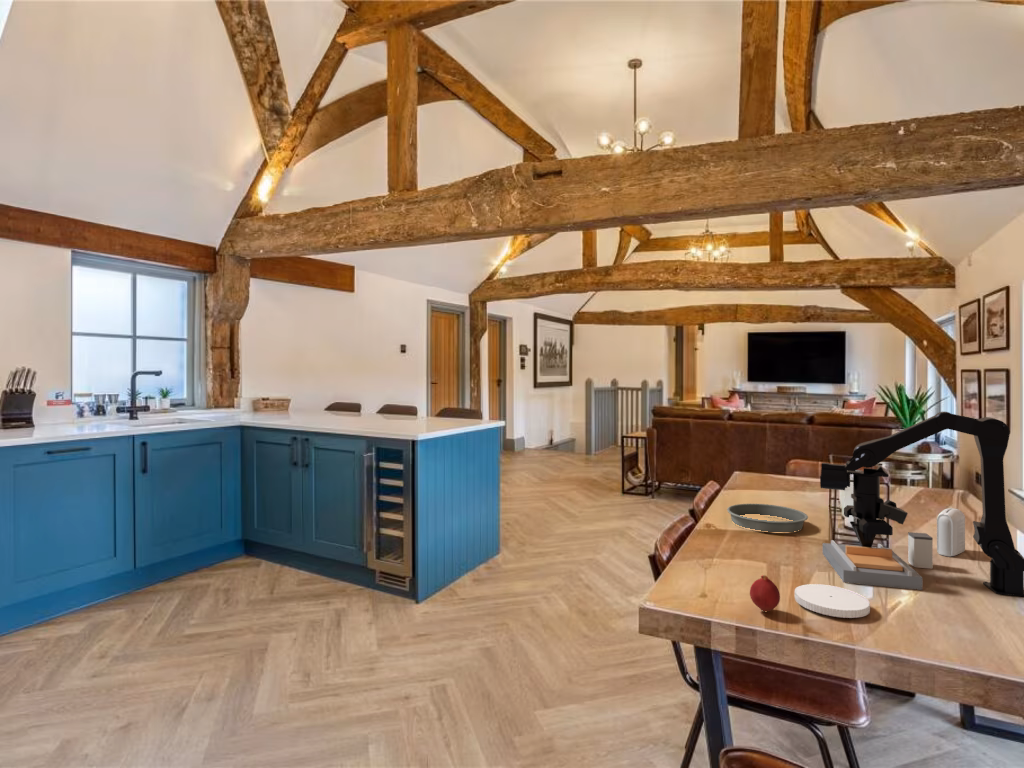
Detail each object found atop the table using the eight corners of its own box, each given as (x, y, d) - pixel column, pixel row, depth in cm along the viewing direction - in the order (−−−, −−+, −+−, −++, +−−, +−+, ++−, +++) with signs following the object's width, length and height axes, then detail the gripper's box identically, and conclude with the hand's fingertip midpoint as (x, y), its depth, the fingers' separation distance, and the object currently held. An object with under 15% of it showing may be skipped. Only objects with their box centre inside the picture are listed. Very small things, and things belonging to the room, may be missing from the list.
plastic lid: (781, 596, 123) (781, 585, 123) (840, 593, 124) (839, 582, 124) (821, 624, 109) (821, 611, 109) (886, 621, 110) (886, 608, 110)
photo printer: (948, 547, 155) (948, 504, 154) (967, 551, 151) (967, 507, 151) (934, 554, 149) (934, 509, 149) (953, 558, 145) (953, 513, 145)
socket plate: (922, 590, 124) (922, 572, 124) (843, 582, 129) (843, 566, 129) (889, 559, 145) (889, 544, 145) (822, 553, 150) (822, 539, 150)
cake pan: (815, 538, 165) (815, 524, 165) (729, 532, 173) (729, 518, 173) (800, 518, 188) (800, 505, 188) (725, 513, 196) (725, 501, 196)
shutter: (902, 571, 128) (902, 559, 128) (854, 567, 131) (854, 555, 131) (890, 560, 136) (890, 548, 136) (845, 556, 139) (845, 545, 139)
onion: (754, 603, 118) (754, 567, 118) (783, 610, 115) (782, 573, 114) (746, 612, 114) (746, 575, 114) (776, 620, 110) (775, 581, 110)
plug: (932, 568, 138) (932, 537, 138) (914, 567, 139) (914, 536, 139) (926, 563, 142) (926, 533, 142) (908, 562, 143) (908, 532, 143)
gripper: (918, 502, 127) (918, 568, 127) (890, 486, 144) (890, 544, 145) (863, 499, 130) (863, 563, 130) (843, 484, 148) (843, 540, 148)
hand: (866, 552), depth 138 cm, fingers closed
